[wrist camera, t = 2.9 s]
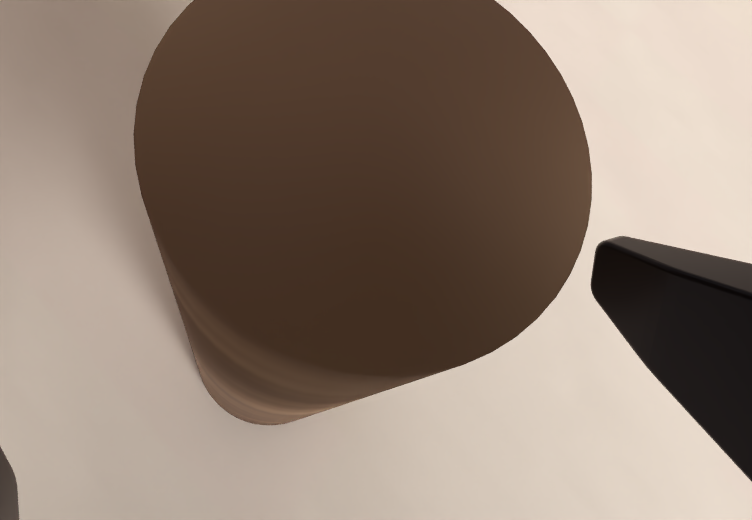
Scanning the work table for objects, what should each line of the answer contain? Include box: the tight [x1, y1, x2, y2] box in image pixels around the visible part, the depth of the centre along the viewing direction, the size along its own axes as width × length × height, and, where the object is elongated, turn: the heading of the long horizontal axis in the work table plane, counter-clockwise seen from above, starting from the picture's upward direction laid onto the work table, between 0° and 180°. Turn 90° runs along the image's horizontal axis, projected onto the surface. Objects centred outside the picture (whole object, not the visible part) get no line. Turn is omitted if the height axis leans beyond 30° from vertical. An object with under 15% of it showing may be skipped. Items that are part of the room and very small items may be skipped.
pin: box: [134, 0, 592, 425], centre depth 11 cm, size 4×4×13 cm
